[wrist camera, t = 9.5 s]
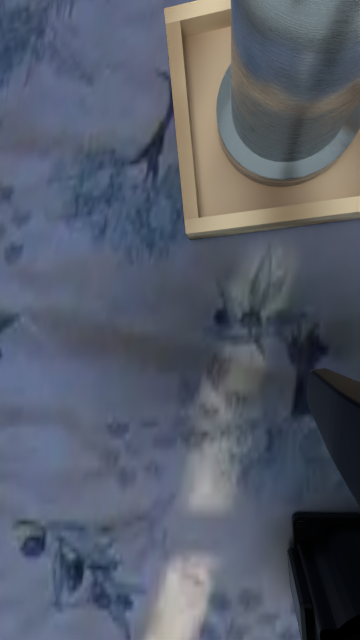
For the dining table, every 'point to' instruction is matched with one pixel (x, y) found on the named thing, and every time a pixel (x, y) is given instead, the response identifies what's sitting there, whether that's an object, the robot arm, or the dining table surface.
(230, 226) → the tray
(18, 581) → the dining table surface
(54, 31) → the dining table surface
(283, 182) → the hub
